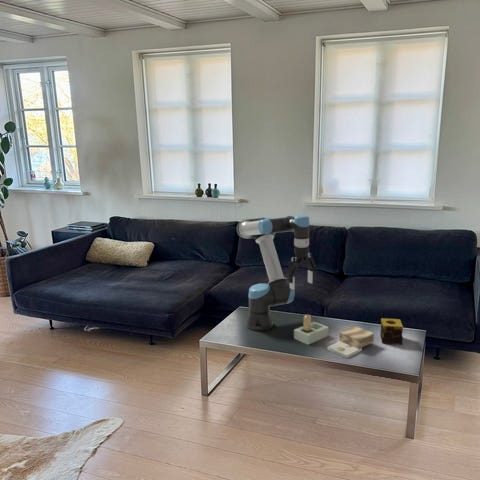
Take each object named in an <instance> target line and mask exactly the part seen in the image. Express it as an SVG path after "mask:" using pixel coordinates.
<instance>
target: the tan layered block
mask: <svg viewBox="0 0 480 480" xmlns="http://www.w3.org/2000/svg"><path fill="white" fill-rule="evenodd" d="M374 339H375V333H374V332H372V331H369V330H367V329H365V328H364V329H363V328H362V327H359V326H355V325H354V326H353V325H352V326H351V327H349V328H347V329H343V330H342V331H340V332H339V341H341V342H343V343H346V344H348V345H351V346H353V347H355V348H358V349H360V348H362V349H363V348H364V347H366V346H368V345H370V344H372V343H374Z"/></svg>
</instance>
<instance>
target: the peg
mask: <svg viewBox="0 0 480 480" xmlns="http://www.w3.org/2000/svg"><path fill="white" fill-rule="evenodd" d="M302 316H303V321H302V324H303V325H302V326H303V332H305V333H309V332H311V323H312V315H311V314H303V315H302Z"/></svg>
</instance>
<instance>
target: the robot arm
mask: <svg viewBox="0 0 480 480" xmlns="http://www.w3.org/2000/svg"><path fill="white" fill-rule="evenodd" d="M310 224H311V223H310V217H309V216H308V215H303V214H299V215H295V216H293V215H285V216H283V217H277V218H270V217H263V216H262V217H258V218H248V219H243V220H241V221H239V222H238V224H237V226H236V233H237V235H238V236H239V237H240V238H243V239H247V240H248V239H249V240H250V239H254V240H255V243H256V244H258V245H259V249H260V253H261V256H262V259H263V263H264V265H265V271H266V274H267V277H268V280H269V281H268V283H266V282H265V283H257V284H254V285H251V286H250V287H249V289H248V295H247V296H248V315H247V318H246V319H245V320H246V321H245V326H246V327H247V329H250V330H253V331H266V330H269V329H272V328H273V325H274V322H273V321H274V320H273V318H272V314H271V310H270V308H271V307H276V306H281V305H286V304H290V303H292V302H293V301H294V299H295V295H296V294H295V293H296V292H295V282H296V281H295V279H296V278H295V274H296V272H297V270H298V269H299V267H300V266H301V265H303V264H304V265H305V266H306V268H307V269H308V270H307V283H309V284H313V277H314V272H315V271H316V269H317V266H316V264H315V260H314V257H313V253H312V252H310V227H311V226H310ZM286 232H287V233H288V232H292V233H294V236H293V245H294V248H293V250H294V251H293V253H294V254H295V255H294V256H291V257H290V261H289V264H288V267H287V269H286V273H285V276H287V277H288V278H287V277H284V274H283V273H284V272H283V270H282V267H281V263H280V260H279V256H278V253H277V250H276V247H275V243H274V238H275V235H276V234H278V233H286Z"/></svg>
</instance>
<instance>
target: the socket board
mask: <svg viewBox="0 0 480 480" xmlns="http://www.w3.org/2000/svg"><path fill="white" fill-rule="evenodd" d="M329 329H330V328H329V326H327V325H324V324H323V323H320V322H317V321H311V332H309V333H305V332H303V325H302V326H299V327H297V328H295V329H294V330H293V338H294V340H296V341H298V342H301V343H303V344H305V345H308V346H309V345H311V344H313V343H316V342H317V341H320V340H322V339H324V338H326V337H329V334H330V333H329Z"/></svg>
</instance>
